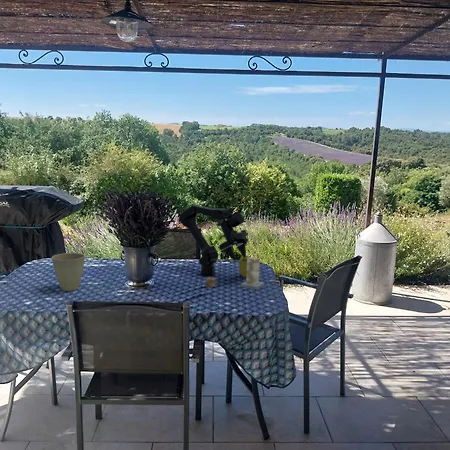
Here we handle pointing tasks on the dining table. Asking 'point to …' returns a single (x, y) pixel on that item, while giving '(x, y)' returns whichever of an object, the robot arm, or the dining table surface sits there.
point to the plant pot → (69, 270)
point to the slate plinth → (252, 285)
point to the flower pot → (243, 267)
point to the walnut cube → (210, 282)
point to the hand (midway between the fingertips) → (240, 258)
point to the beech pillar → (252, 270)
